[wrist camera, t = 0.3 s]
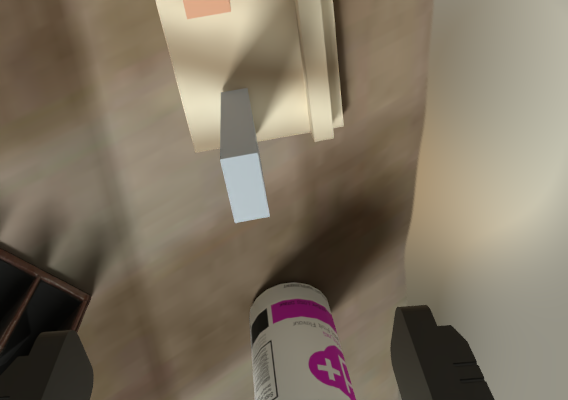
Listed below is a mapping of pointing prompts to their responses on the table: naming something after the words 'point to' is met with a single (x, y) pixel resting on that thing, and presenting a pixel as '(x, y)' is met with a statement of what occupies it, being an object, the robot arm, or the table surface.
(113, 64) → the table surface
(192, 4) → the orange rectangular block
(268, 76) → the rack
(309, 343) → the supplement can
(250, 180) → the light blue tall bar
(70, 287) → the letter holder
